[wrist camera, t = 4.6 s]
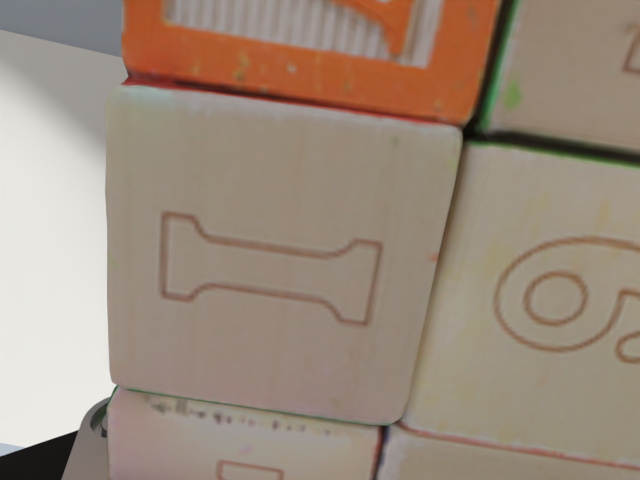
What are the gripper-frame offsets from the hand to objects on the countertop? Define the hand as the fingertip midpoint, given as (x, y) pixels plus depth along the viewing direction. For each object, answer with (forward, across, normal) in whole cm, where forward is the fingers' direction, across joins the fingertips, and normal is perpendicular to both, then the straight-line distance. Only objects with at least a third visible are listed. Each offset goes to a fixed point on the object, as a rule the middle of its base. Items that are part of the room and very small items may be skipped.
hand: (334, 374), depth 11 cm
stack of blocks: (+6, 0, 0) cm, 6 cm away
